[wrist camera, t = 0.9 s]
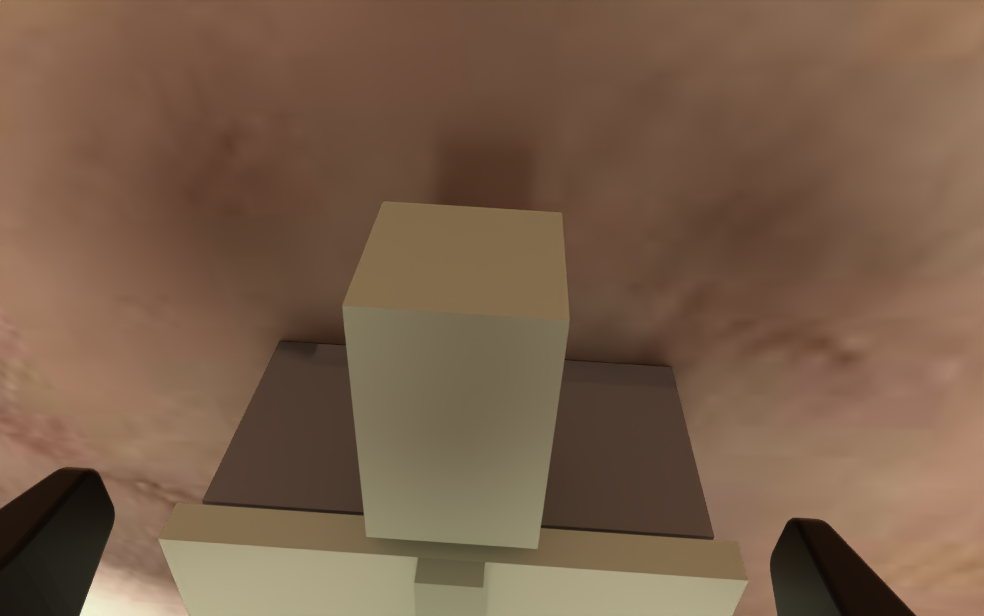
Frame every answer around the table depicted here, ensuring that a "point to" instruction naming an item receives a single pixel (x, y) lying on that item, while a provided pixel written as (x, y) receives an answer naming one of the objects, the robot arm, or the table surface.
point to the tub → (573, 464)
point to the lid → (447, 455)
